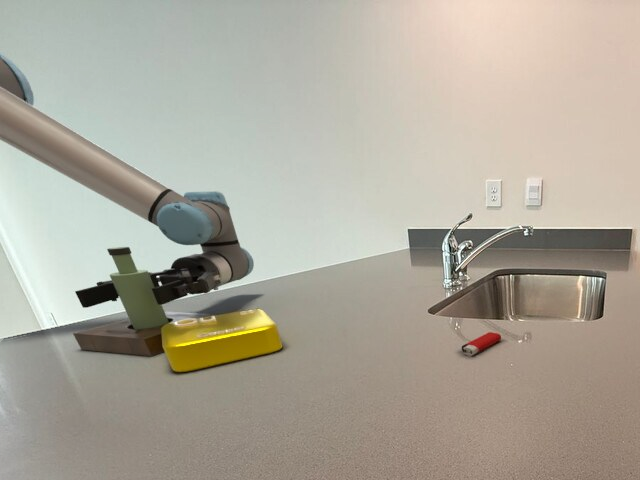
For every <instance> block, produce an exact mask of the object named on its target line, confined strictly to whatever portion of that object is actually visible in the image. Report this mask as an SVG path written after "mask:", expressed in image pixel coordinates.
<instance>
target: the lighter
mask: <svg viewBox="0 0 640 480" xmlns="http://www.w3.org/2000/svg"><path fill="white" fill-rule="evenodd" d="M501 340H502V336H501V334H500V333H497V332H492V331H489V332H487V333H485V334H482V335H481V336H479V337H477V338H475V339H473V340H471V341H469V342H467V343H465V344H463V345H461V350H462V353H463V354H464V355H465V356H468V357H472V356H474V355H475V354H478V353H479V352H481V351H483V350H485V349H487V348H488V347H491V346H492V345H494V344H496V343H497V342H499V341H501Z"/></svg>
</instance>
